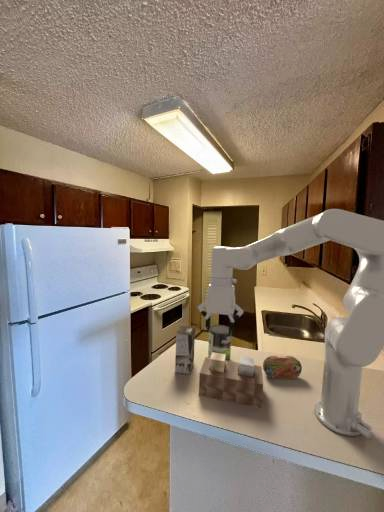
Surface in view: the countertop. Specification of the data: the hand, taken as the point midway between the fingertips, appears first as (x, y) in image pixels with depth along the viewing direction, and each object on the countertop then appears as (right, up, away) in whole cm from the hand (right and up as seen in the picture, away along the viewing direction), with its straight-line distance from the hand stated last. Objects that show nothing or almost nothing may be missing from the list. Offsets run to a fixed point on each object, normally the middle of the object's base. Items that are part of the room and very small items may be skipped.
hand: (219, 330), depth 81 cm
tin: (+26, -22, +10) cm, 36 cm away
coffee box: (-13, -20, +14) cm, 28 cm away
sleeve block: (+4, -22, +1) cm, 22 cm away
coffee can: (+2, -20, +22) cm, 30 cm away
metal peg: (+9, -18, -1) cm, 20 cm away
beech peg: (-1, -17, +1) cm, 17 cm away
